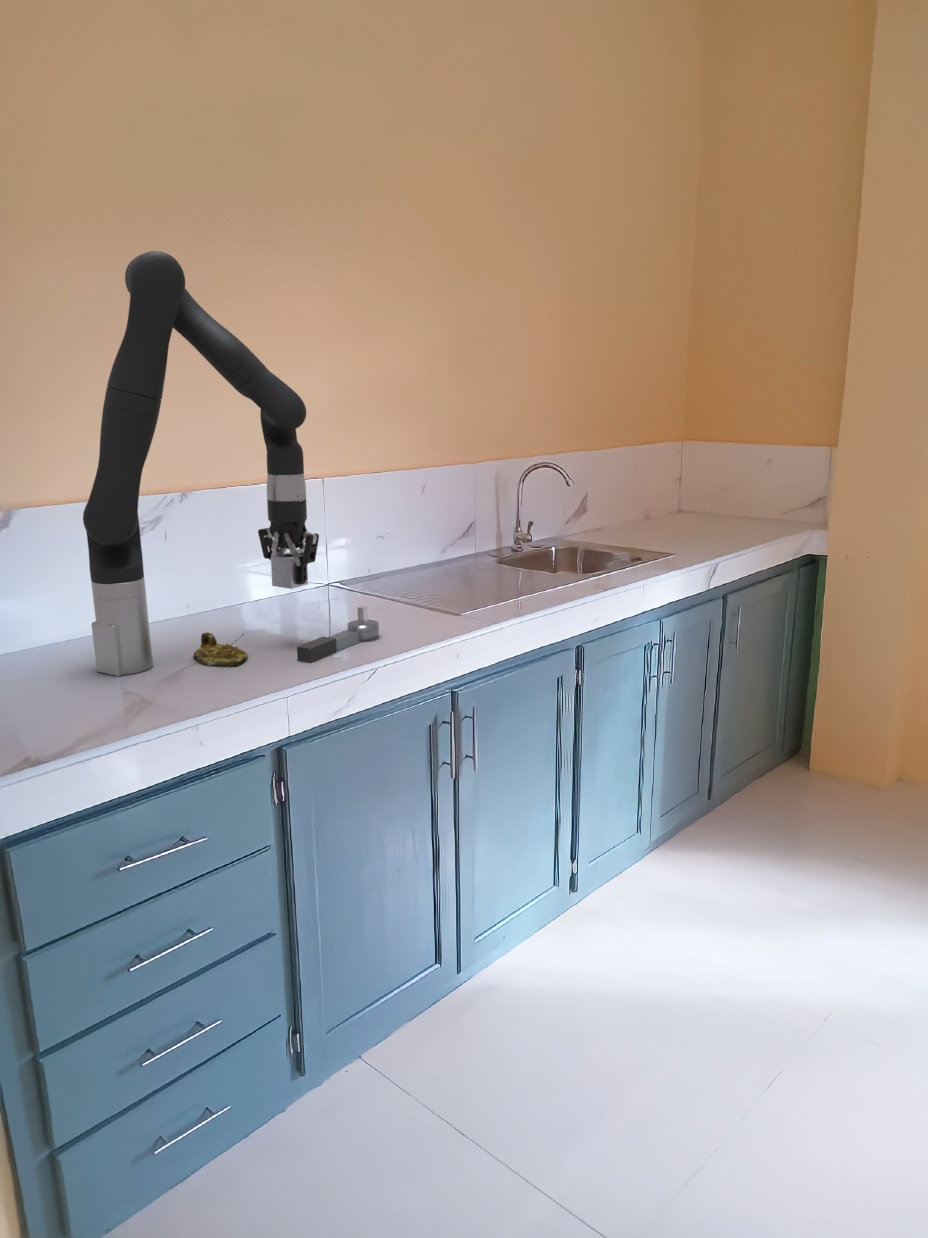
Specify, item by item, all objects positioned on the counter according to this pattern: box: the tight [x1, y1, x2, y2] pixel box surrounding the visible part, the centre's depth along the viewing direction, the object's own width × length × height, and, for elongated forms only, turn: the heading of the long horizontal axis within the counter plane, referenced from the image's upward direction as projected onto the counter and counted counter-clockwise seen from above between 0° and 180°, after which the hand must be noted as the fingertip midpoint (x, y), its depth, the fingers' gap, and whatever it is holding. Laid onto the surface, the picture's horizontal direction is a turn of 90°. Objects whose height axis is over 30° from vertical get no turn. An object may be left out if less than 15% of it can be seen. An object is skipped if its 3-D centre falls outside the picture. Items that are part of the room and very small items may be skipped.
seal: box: [192, 632, 249, 668], centre depth 183 cm, size 9×5×15 cm
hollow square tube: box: [270, 551, 309, 590], centre depth 187 cm, size 5×5×6 cm
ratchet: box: [296, 605, 380, 664], centre depth 188 cm, size 22×6×6 cm, turn 149°
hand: (290, 581), depth 188 cm, fingers closed on hollow square tube, 5 cm apart
